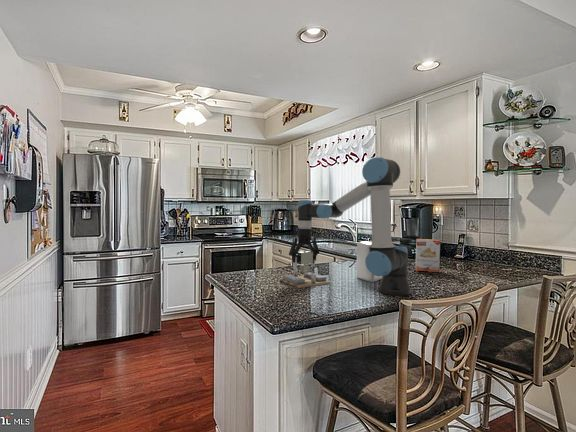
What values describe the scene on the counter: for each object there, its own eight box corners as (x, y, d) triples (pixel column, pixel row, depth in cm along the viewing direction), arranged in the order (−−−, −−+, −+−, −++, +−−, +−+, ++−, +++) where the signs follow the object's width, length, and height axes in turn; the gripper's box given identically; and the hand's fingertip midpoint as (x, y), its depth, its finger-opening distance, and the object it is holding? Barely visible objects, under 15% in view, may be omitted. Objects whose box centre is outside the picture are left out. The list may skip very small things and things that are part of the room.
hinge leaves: (329, 281, 186) (329, 272, 186) (299, 285, 176) (299, 276, 176) (308, 274, 204) (308, 266, 204) (280, 278, 194) (280, 269, 194)
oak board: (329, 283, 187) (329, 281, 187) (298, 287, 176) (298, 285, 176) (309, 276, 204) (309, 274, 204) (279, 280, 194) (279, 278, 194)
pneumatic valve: (315, 271, 190) (316, 249, 190) (297, 273, 185) (297, 251, 184) (310, 269, 195) (310, 248, 195) (292, 271, 190) (292, 249, 189)
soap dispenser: (374, 282, 189) (374, 243, 188) (350, 279, 198) (351, 241, 197) (384, 278, 201) (385, 240, 201) (362, 275, 210) (362, 239, 209)
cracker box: (416, 271, 221) (416, 239, 220) (415, 270, 227) (416, 238, 226) (439, 273, 217) (440, 240, 216) (438, 271, 223) (439, 239, 222)
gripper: (318, 227, 198) (317, 264, 199) (282, 228, 186) (282, 268, 187) (326, 228, 192) (325, 266, 193) (289, 229, 180) (289, 270, 181)
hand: (304, 267), depth 190 cm, fingers closed on pneumatic valve, 11 cm apart
